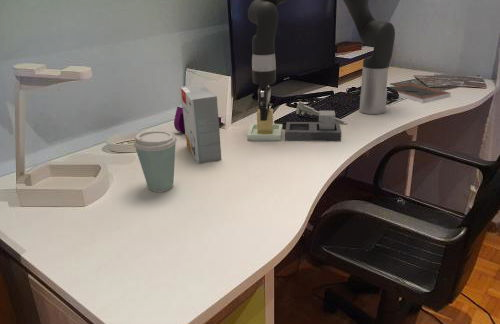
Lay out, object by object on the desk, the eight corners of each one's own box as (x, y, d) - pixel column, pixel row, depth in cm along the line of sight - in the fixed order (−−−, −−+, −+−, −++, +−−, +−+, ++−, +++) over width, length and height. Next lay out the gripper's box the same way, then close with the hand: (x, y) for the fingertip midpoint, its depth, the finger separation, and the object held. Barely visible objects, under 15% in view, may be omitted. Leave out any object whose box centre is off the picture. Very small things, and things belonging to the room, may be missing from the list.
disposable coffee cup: (165, 174, 117) (158, 124, 111) (190, 185, 110) (184, 132, 104) (133, 188, 110) (123, 135, 103) (158, 201, 103) (150, 145, 97)
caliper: (296, 116, 159) (296, 101, 156) (297, 116, 160) (297, 100, 157) (346, 125, 148) (347, 109, 145) (347, 124, 149) (348, 108, 146)
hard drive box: (186, 146, 135) (179, 86, 127) (208, 142, 138) (203, 83, 129) (197, 164, 122) (191, 98, 114) (222, 160, 124) (218, 95, 116)
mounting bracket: (206, 137, 159) (171, 130, 144) (211, 115, 158) (177, 106, 144) (224, 142, 153) (190, 135, 139) (229, 119, 153) (196, 110, 138)
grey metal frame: (338, 130, 143) (339, 122, 142) (340, 141, 134) (341, 132, 133) (286, 130, 146) (286, 121, 144) (285, 140, 137) (285, 132, 135)
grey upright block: (333, 133, 141) (334, 110, 138) (334, 138, 137) (335, 115, 133) (318, 133, 142) (319, 110, 139) (318, 138, 137) (319, 115, 134)
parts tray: (282, 129, 146) (282, 124, 145) (280, 141, 136) (280, 135, 135) (251, 129, 148) (251, 123, 147) (247, 140, 138) (247, 135, 137)
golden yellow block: (273, 130, 144) (273, 108, 140) (272, 135, 139) (271, 113, 136) (259, 130, 144) (258, 108, 141) (257, 135, 140) (256, 113, 136)
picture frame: (383, 93, 186) (422, 104, 168) (383, 87, 185) (423, 98, 167) (410, 87, 193) (449, 98, 175) (410, 82, 191) (450, 92, 174)
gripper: (274, 72, 125) (274, 123, 132) (277, 63, 138) (277, 109, 145) (249, 73, 126) (251, 123, 133) (254, 63, 139) (256, 109, 146)
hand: (265, 116), depth 139 cm, fingers open, 8 cm apart
